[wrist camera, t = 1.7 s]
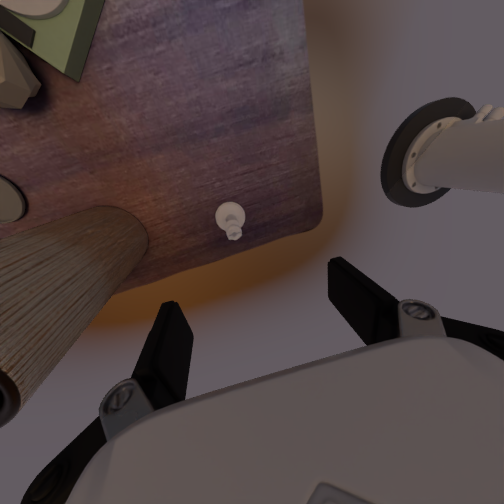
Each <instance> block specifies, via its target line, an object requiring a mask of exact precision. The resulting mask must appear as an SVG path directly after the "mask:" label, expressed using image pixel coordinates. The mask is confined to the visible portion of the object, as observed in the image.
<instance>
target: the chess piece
mask: <svg viewBox="0 0 504 504" xmlns="http://www.w3.org/2000/svg"><path fill="white" fill-rule="evenodd" d="M215 218H216V222H217V224H218V226H219V227H220V228H221V229H223V230H225V231H226V234H227V236H228V239H229V240H231V239H232V240H237V239H238V238H240V237H241V236H242V230H241V227H242V226H243V224H244V222H245V212H244V210H243V208H242V207H241V206H240V205H239V204H237V203H235V202H226V203H223V204H222V205H220V206H219V207H218V209H217V211H216V214H215Z"/></svg>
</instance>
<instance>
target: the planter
mask: <svg viewBox="0 0 504 504" xmlns="http://www.w3.org/2000/svg"><path fill="white" fill-rule="evenodd" d="M147 248H148V236H147V233H146V231H145V229H144V227H143V225H142V224H141V223H140V222H139V221H138V220H137V219H136V218H135V217H134V216H133V215H131V214H130V213H128V212H126V211H124V210H122V209H119V208H116V207H111V206H98V207H93V208H89V209H86V210H83V211H80V212H77V213H74V214H71V215H69V216H66V217H63V218H60V219H57V220H54V221H51V222H48V223H45V224H43V225H40V226H37V227H34V228H31V229H28V230H25V231H22V232H20V233H17V234H14V235H11V236H8V237H5V238H2V239H0V428H1V427H3V426H4V425H6V424H7V423H8V422H10V421H11V420H12V419H13V418H14V417H15V416H16V414H18V412H19V411H20V410H21V409H22V408H23V406H24V405H25V404H26V403H27V401H28V400H29V399H30V398H31V396H32V395H33V394H34V393H35V391H36V390H37V389H38V388H39V386H40V385H41V384H42V383H43V381H44V380H45V379H46V378H47V376H48V375H49V374H50V373H51V371H52V370H53V369H54V368H55V366H56V365H57V364H58V363H59V361H60V360H61V359H62V358H63V356H64V355H65V354H66V353H67V351H68V350H69V349H70V348H71V346H72V345H73V344H74V343H75V341H76V340H77V339H78V338H79V336H80V335H81V333H83V331H84V330H85V329H86V328H87V326H88V325H89V324H90V323H91V321H92V320H93V319H94V318H95V316H96V315H97V314H98V313H99V311H100V310H101V309H102V308H103V306H104V305H105V304H106V303H107V301H108V300H109V299H110V298H111V296H112V295H113V294H114V293H115V291H116V290H117V289H118V288H119V286H120V285H121V284H122V283H123V281H124V280H125V279H126V278H127V276H128V275H129V274H130V273H131V271H132V270H133V269H134V268H135V266H136V265H137V264H138V263H139V261H140V260H141V259H142V258H143V256H144V254H145V253H146V251H147Z"/></svg>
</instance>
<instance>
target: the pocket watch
mask: <svg viewBox="0 0 504 504" xmlns="http://www.w3.org/2000/svg"><path fill="white" fill-rule="evenodd" d="M24 212H25V201H24V199H23V197H22V195H21V193H20V192H19V191H18V189H17V188H16V187H15V186H14V185H13V184H12V183H10V182H9V181H8V180H6V179H5V178H3V177H1V176H0V223H10V222H13V221H15V220H18V219H19V218H21V217H22V216H23V214H24Z"/></svg>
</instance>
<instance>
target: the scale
mask: <svg viewBox="0 0 504 504" xmlns="http://www.w3.org/2000/svg"><path fill="white" fill-rule="evenodd" d="M103 3H104V0H0V30H1V31H3V32H4V33H6V34H7V35H9V36H10V37H12V38H13V39H15V40H16V41H17V42H19V43H20V44H22V45H23V46H25V47H26V48H28V49H29V50H30V51H32V52H33V53H35V54H36V55H38V56H39V57H41V58H42V59H43V60H45V61H46V62H48V63H49V64H51V65H52V66H54V67H55V68H56V69H58V70H59V71H61V72H62V73H64V74H65V75H67V76H69V77H71V78H72V79H74V80H76V81H77V82H79V80H80V77H81V74H82V70H83V67H84V64H85V61H86V58H87V54H88V51H89V48H90V45H91V42H92V39H93V35H94V32H95V29H96V26H97V23H98V19H99V16H100V13H101V10H102V7H103Z"/></svg>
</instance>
